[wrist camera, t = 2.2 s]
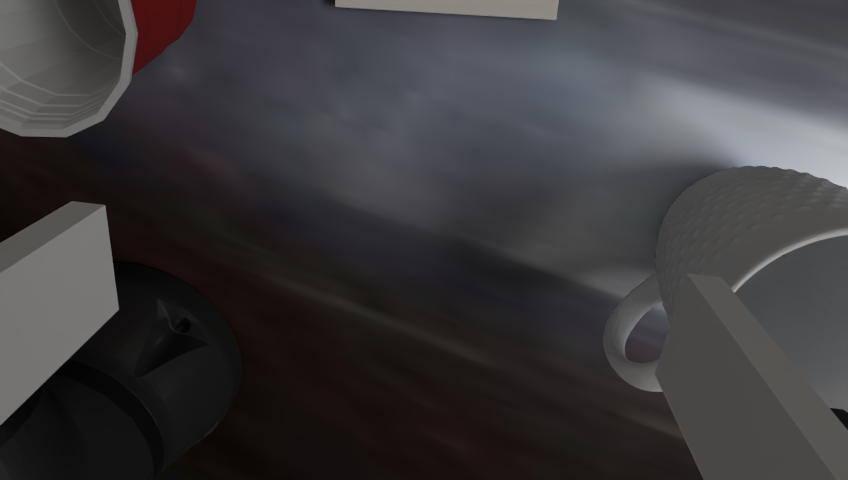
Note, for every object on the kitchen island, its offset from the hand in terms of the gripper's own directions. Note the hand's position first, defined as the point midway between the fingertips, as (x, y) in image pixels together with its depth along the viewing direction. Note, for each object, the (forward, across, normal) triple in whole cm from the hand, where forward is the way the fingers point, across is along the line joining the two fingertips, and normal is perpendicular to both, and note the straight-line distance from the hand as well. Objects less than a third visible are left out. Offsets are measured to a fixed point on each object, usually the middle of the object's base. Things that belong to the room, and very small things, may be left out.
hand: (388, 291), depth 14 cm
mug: (+23, +18, -7) cm, 30 cm away
